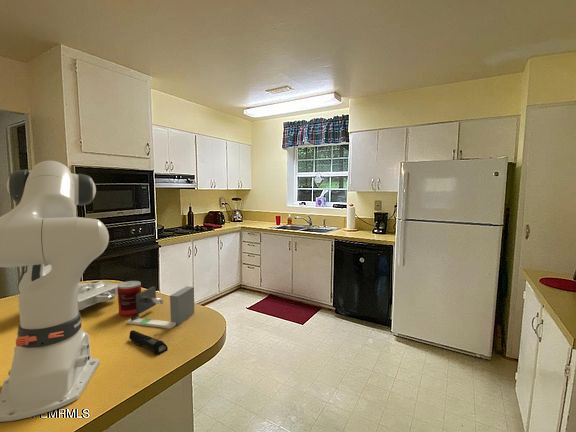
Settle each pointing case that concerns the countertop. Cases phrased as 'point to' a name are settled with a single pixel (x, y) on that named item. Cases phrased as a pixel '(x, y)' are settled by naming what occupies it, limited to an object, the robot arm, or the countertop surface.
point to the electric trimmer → (148, 342)
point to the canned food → (128, 297)
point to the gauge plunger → (146, 301)
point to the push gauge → (173, 310)
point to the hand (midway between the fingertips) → (111, 297)
